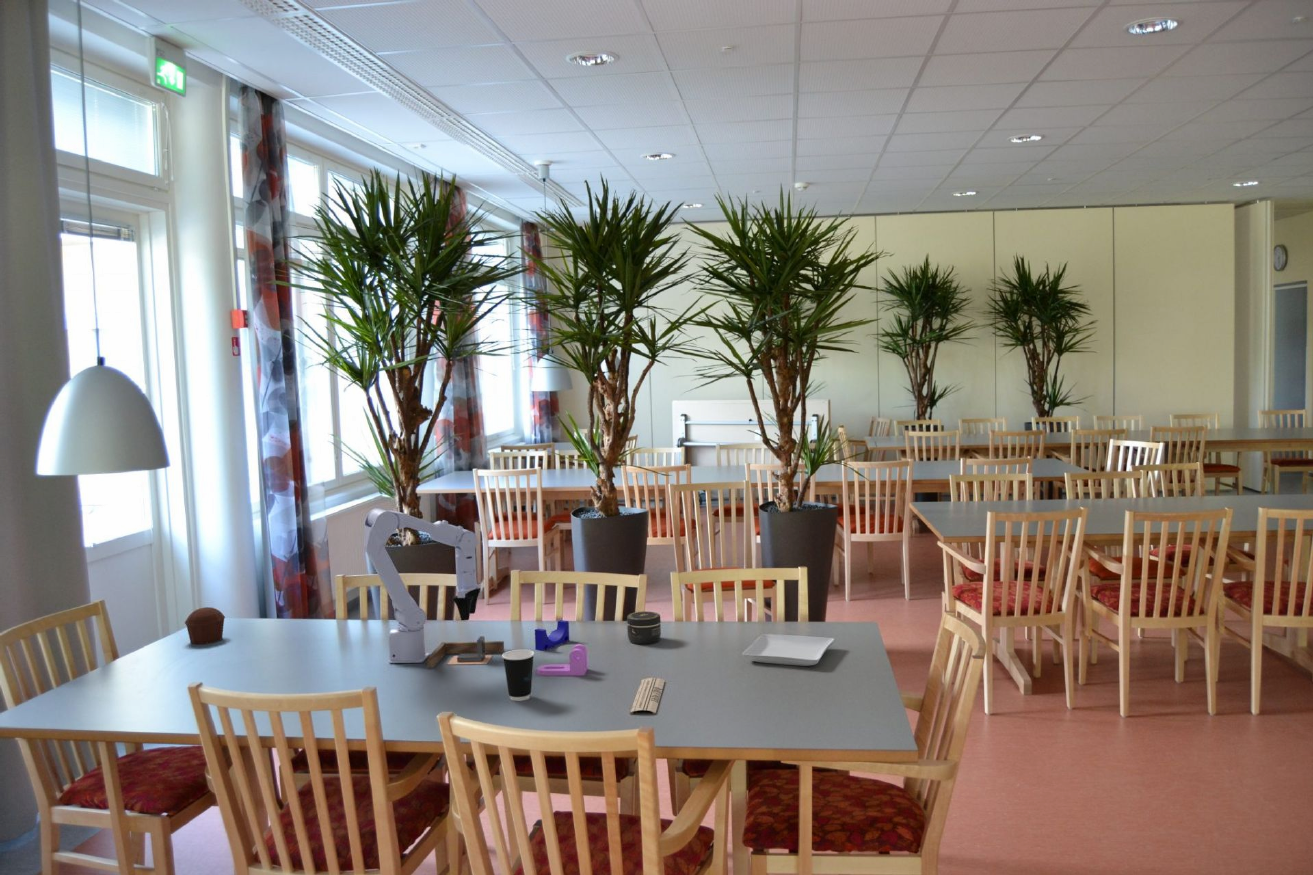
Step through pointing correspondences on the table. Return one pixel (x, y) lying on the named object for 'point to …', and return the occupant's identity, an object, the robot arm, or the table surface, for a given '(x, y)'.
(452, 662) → the mat
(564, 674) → the bracket
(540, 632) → the blue cradle block
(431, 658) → the corner walls
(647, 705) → the newspaper
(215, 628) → the muffin
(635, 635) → the jar
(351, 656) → the table surface
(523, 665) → the dixie cup
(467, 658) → the angle bracket
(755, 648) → the salad plate
